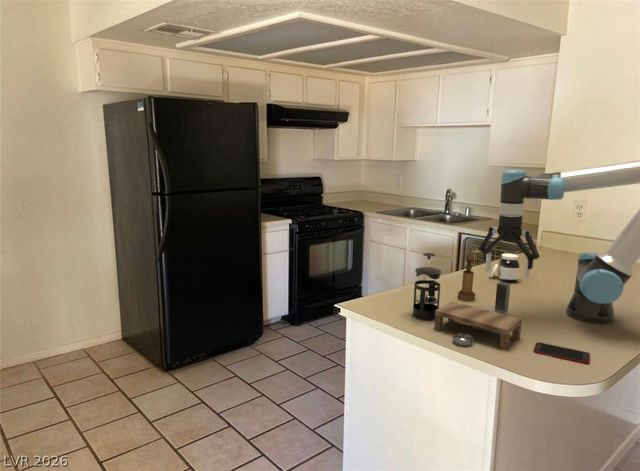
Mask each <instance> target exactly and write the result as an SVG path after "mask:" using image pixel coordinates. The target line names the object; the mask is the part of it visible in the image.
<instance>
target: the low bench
mask: <svg viewBox="0 0 640 471" xmlns="http://www.w3.org/2000/svg"><path fill="white" fill-rule="evenodd" d="M484 309H485V308H479V307H476V306H472V305H468V304H464V303H460V302H457V301H453V300H452V301H449V302H447V303H446V304H444V305H442V306H441V307H439V309H437V310H435V320H434V324H433V327H434V328H433V329H434V330H437V331H441V330H443V326H444V325H443V324H444V318H446V319H447V321H449V322H455V321H456V322H460V323H462V324H463V323H464V324H467V325H469V326H470V325H474V326H478V327H481V328H485V329H488V330H492V331H495V332H496V333H499V334H500V344H499V349H501V350H504V351H508V350H509V348H510V341H511V340H510V338H511V339H513V340H517V341H519V340H520V339H521V333H522V324H523V323H522V322H523V319H522V318H519V317H516V316H512V315H510V316H508V315H504V314H500V313H496V312H492V311H488V310H484Z"/></svg>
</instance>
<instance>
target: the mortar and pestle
mask: <svg viewBox="0 0 640 471" xmlns="http://www.w3.org/2000/svg"><path fill="white" fill-rule="evenodd" d="M464 259H465V261H466V263H467V264H466V265H465V269H466V270H463V271H462V272H463V274H462V284H461V290H459V291H458V292H457V298H458V300H460V301H463V302H474V301H475V300H476V293H475V292H474V290H473V287H474V286H473V285H474V274H475V272H474V271H472V268H473V265H472V263H473V261H474V256H473V254H466V256H465V258H464Z"/></svg>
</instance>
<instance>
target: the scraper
mask: <svg viewBox="0 0 640 471" xmlns="http://www.w3.org/2000/svg"><path fill="white" fill-rule="evenodd" d="M511 284H512V283H509V282H503V281H500V282H498V283H497V284H496V292H495V301H494V307H491V306H487V307H486V308H483V309H484V310H488V311H492V312H496V313H500V314H504V315H508V316H511V314H512V313H511V311H509V302H510V295H511V294H510V292H511ZM469 327H470V328H474V329H477V330H481V331H485V332H487V333H491V334H494V333H495V332H496V331H492V330H488V329H485V328H481V327H478V326H474V325H470V324H469Z"/></svg>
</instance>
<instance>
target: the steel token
mask: <svg viewBox="0 0 640 471" xmlns="http://www.w3.org/2000/svg"><path fill="white" fill-rule="evenodd" d="M473 343H474V337H473V336H472V335H469V334H467V333H454V334H453V335H452V344H454V346H457V347H462V348H470V347H472V346H473Z"/></svg>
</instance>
